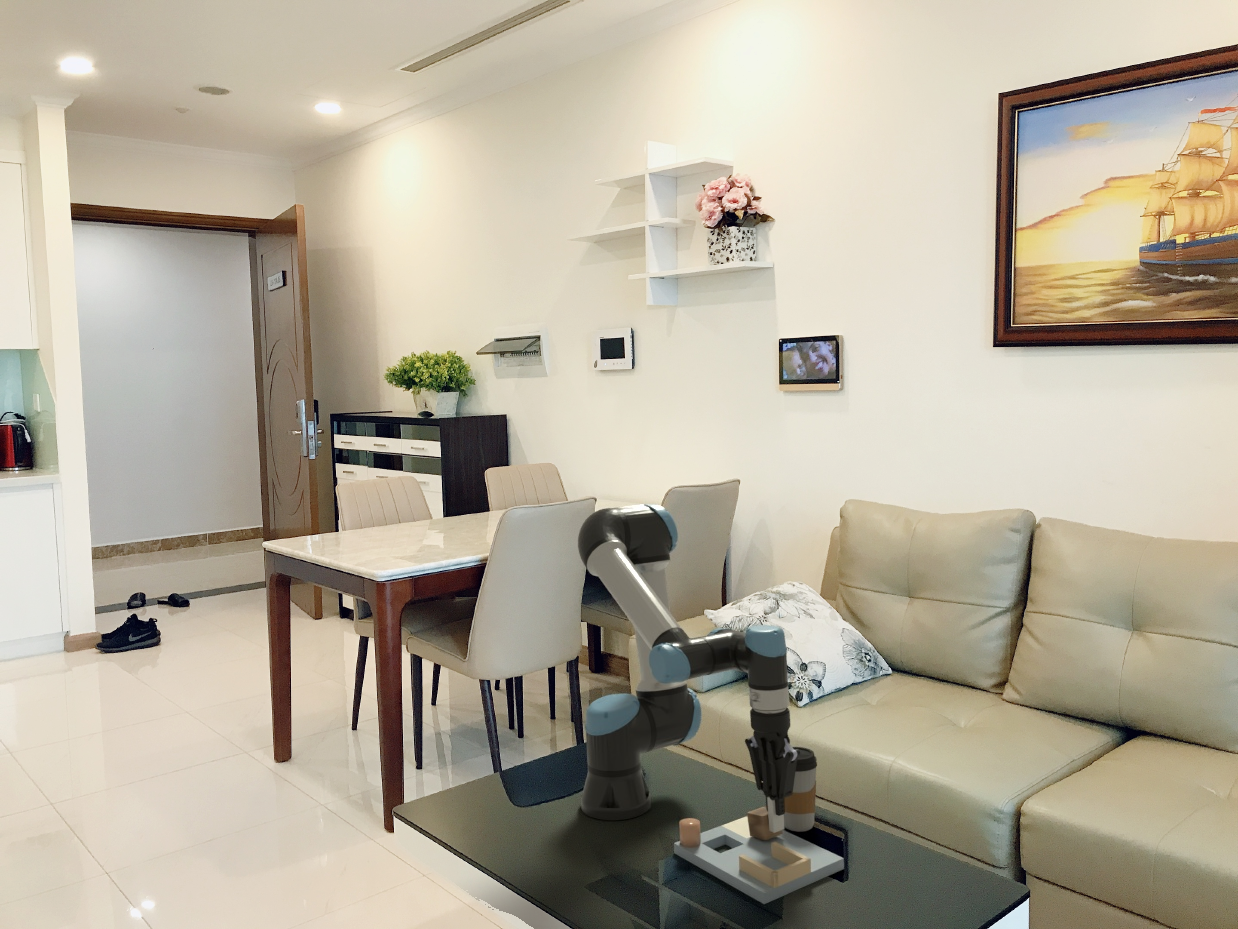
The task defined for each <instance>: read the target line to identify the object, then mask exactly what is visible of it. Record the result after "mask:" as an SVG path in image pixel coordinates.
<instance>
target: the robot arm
mask: <svg viewBox="0 0 1238 929" xmlns="http://www.w3.org/2000/svg"><path fill="white" fill-rule="evenodd" d="M678 533H679V532H678V528H677V524H676V522H675V519H674V517H673V516H672V514H671V512H669V511H668V510H667V509H666V508H665V507H664V506H662V505H660V504H656V503H655V504H654V503H652V504H650V503H649V504H647V503H645V504H643V503H642V504H636V505H627V506H621V507H620V506H618V507H607V508H605V507H604V508H601V509H599V510H596V511H594V512H593V513H591V514H590V515H589V516H588V517H587V518H586V519H585V520H584V522H583V523H582V525H581V526H580V529H579V533H578V535H577V536H578V537H577V548H578V549H577V550H578V554H579V557H580V559H581V561H582V563H583V565H584V567H585V568H586V569H587V571H588V572H589V574H591V575H592V576H595V577H598V578H599V579H600V581H601V582H602V584H603V585H604V586H605V588H606V589H607V591H608V592H609V594H611V597H612V598H613V599H614V600H615V602H616V603H617V604H618V606H619V608H620V609H621V610H622V612H623V613H624V615H625V616H626V617H627V619H628V620H629V622H630V623H631V624H632V627H633V628H634V629H633V630H634V637H635V645H636V652H637V657H638V658H637V659H638V666H639V675H640V680H639V683H638V684H637V685H636V686H635V695H634V694H631V693H626V692H625V693H617V694H616V693H612V694H607V695H603V696H602V697H599V698H597V699H595V700H594V701H592V702H590V704H589V705H588V707H587V709H585V710H586V711H585V723H584V730H585V737H586V738H585V740H586V756H587V757H586V759H587V775H586V779H585V782H584V786H583V790H582V794H581V798H580V803H581V804H580V805H581V810H582V812H583V814H585V815H586V816H588V817H589V818H594V819H597V820H603V821H623V820H629V819H632V818H633V819H634V818H637V817H640V816H642V815H644V814H645V813H646V812H648V811H649V810H650V809H651V806H652V801H651V792H650V789H649V786H648V784H647V781H646V779H645V776H644V773H643V770H642V754H644V753H649V752H652V751H656V750H660V749H664V748H667V747H672V746H679V745H680V744H682V743H685V742H688V741H690V740H692V739H693V738H694V737H695V736H696V735H697V733H698V732H699V730H700V728H701V723H702V707H701V702H700V700H699V698H697V694H696V692H695V691H694V690H693V689H692V688H689V687H688V682H687V680H692V679H696V678H697V679H698V678H701V677H704V676H710V675H715V674H719V673H725V672H729V671H737V672H742V673H746V674H747V679H748V681H747V683H748V684H747V685H748V697H749V699H748V700H749V707H751V709H750V711H749V716H750V719H749V720H750V727H751V729H752V730H753V735H752V736H751V737H748V738H745V740H744V744H745V746H746V747H747V750H748V754H749V757H750V761H751V766H752V770H753V775H754V781H755V784H756V788H757V790H758V791H761V792H762V793H763V795H764V796H765V807H766V809H767V811H768V818H769V831H771V832H773V833H775V832H778V831H781V830H785V826H784V814H785V800H784V799H785V797H788V796H791V795H792V794H793V787H794V779H795V771H796V763H797V760H798V758H799V756H800V751H799V750H798V749H796V750H794V749H793V748H792V747H793V746H792V745H791V744H790V743H791V740H790V737H789V734H788V732H789V730H790V728H791V710H790V709H789V706H790V694H789V692H790V691H789V683H788V682H789V681H788V680H789V679H788V676H789V675H788V660H787V658H788V657H787V653H788V652H787V651H788V649H787V648H788V647H787V645H786V638H785V637H786V636H785V631H784V629H783V628H782V627H780V626H778V625H772V624H771V625H769V624H761V625H760V624H758V625H753V626H750V627H748V628H747V629H746V630H745V632H743V631H739V630H735V629H732V628H728V627H727V628H723V627H719V628H714V629H713V630H711V631H710V632H708V634H707V635H701V636H697V637H689V636H688V634H687V632H685V631H684V629H683V628H682V627H681V625H680V624H679V623H678V621H677V620H676V619H675V617H674V616H673V615H672V613H671V607H670V599H669V598H670V596H669V592H668V583H667V574H666V568H667V566H668V565H669V564H670V562H671V555H670V554H671V553H672V552H673V551H674V550H676V547H677V542H678V540H679V536H678Z"/></svg>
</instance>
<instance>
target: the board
mask: <svg viewBox="0 0 1238 929" xmlns="http://www.w3.org/2000/svg"><path fill="white" fill-rule="evenodd" d="M700 833H701V844H700V845H699V846H697V847H692V848H689V847H684V846H682V845H681V844H680V840H679V841H676V842H674V843H673V854H675V855H677V856H679V857H680V858H682V859H683V860H686V861H687V862H689V863H691V864H692V865H694V866H697V867H698V868H700V869H701V870H703V871H705V872H707V873H709V874H710V875H712V876H714V877H716V879H719V880H721V881H722V882H724V883H725V884H727V885H730V886H731V887H733V888H735V889H736V890H738V891H740V892H741V893H744V894H745V895H747V896H749V897H751V898H752V899H754V900H755V901H758V902H760V903H761V904H762V905H766V904H769V903H770V902H772V901H775V900H777V899H779V898H781V897H784V896H787V895H789V894H790V893H793V892H795V891H797V890H799V889H801V888H804V887H806V886H809V885H812V884H813V883H815V882H817V881H820V880H822V879H825V878H826V877H829V876H832V875H833V874H836V873H837V872H841V871H842V870H844V869H845V868H844V867H845V861H844V860H845V859H844V857H842V856H840V855H838V854H836V853H834V852H831V851H829V850H827V849H825V848H822V847H820V846H818V845H816V844H814V843H812V842H810V841H808V840H806V839H804V838H801V837H799V836H797V835H795V834H793V833H791V832H789V831H787V830H785V829H783V834H781V835H778V836H776V837H773V838H771V839H768V840H763V839H759V838H755V837H752V836H750V832H749V824H748V817H747V815H746V816H743V817H741V818H739V819H735V820H733V821H730V822H728V823H725V824H722V825H719V826H716V827H714V828H711V829H708V830H706V831H703V832H700ZM725 845H726V846H728V847H729V848H731V849H727V850H725V851H722V852H718V851H717V850H715V849H718V848H719V847H722V846H725Z"/></svg>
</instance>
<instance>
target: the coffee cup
mask: <svg viewBox="0 0 1238 929" xmlns="http://www.w3.org/2000/svg"><path fill="white" fill-rule="evenodd" d="M792 748H793V749H794V750H796V749H798V750H799V751H800V756H799V758H798V760H797V763H796V771H795V779H794V787H793V794H792V795H791V796H788V797H785V799H784V800H785V814H784V829H787V830H789V831H792V832H807V831H809V830H811V829H813V827H814V825H815V812H816V799H817V798H816V796H817V795H816V792H817V766H818V762H817V761H818V760H817V757H816V756H815V752H814V751H813V750H812V749H810V748H807V747H803V746H802V747H801V746H792Z"/></svg>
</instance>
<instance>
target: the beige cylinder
mask: <svg viewBox="0 0 1238 929" xmlns="http://www.w3.org/2000/svg"><path fill="white" fill-rule="evenodd" d="M678 827H679V841H680V844H681V845H682V846H684V847H689V848H692V847H697V846H699V845H700V844H701V833H702V832H701V821H700V820H699V819H697V818H694V817H693V818H692V817H691V818H689V817H688V818H683V819H680V820H679V824H678Z"/></svg>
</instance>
